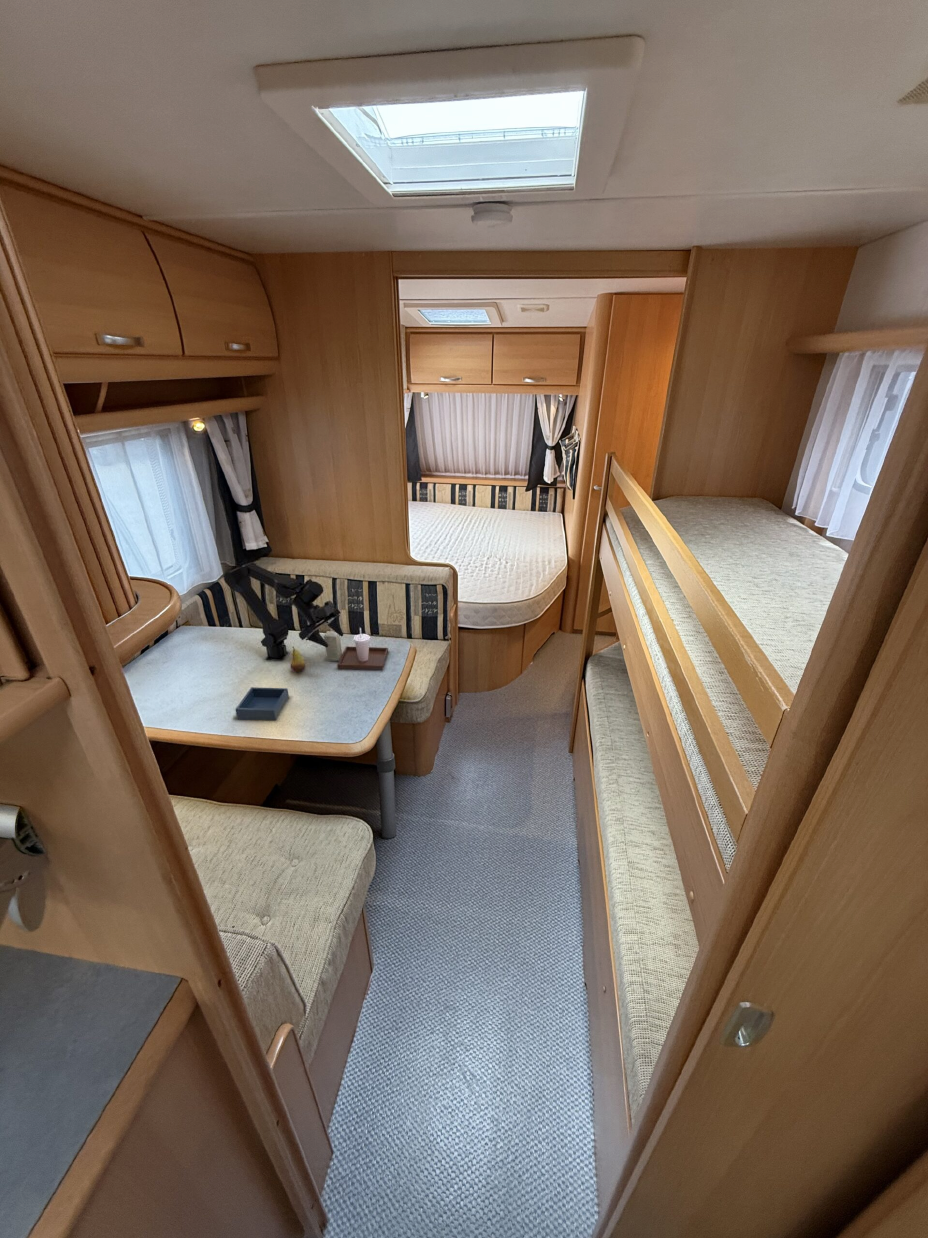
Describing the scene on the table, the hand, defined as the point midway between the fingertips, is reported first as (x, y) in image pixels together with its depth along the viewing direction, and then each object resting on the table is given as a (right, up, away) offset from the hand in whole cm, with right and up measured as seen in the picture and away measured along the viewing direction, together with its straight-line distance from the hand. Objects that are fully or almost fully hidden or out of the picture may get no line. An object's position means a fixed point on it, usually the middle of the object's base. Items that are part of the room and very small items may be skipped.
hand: (335, 641), depth 181 cm
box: (-4, -8, +15) cm, 18 cm away
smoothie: (+7, -8, +14) cm, 18 cm away
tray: (+8, -8, +14) cm, 18 cm away
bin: (-20, -22, -15) cm, 33 cm away
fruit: (-16, -12, +7) cm, 21 cm away
